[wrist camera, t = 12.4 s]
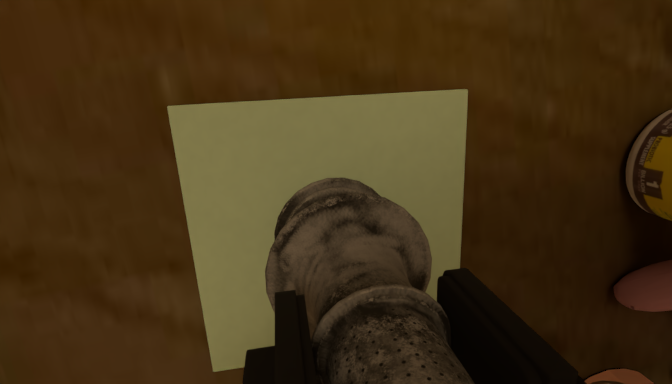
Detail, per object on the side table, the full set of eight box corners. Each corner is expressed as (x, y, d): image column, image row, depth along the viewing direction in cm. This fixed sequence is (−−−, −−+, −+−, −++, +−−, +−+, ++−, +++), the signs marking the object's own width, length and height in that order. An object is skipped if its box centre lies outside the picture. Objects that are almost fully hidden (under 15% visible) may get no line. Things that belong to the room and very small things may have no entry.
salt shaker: (254, 183, 15) (186, 496, 3) (394, 160, 15) (727, 356, 4) (280, 307, 16) (290, 796, 5) (404, 281, 17) (660, 661, 6)
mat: (169, 105, 14) (166, 106, 14) (463, 88, 16) (468, 88, 15) (214, 366, 17) (212, 372, 17) (453, 329, 19) (457, 334, 19)
